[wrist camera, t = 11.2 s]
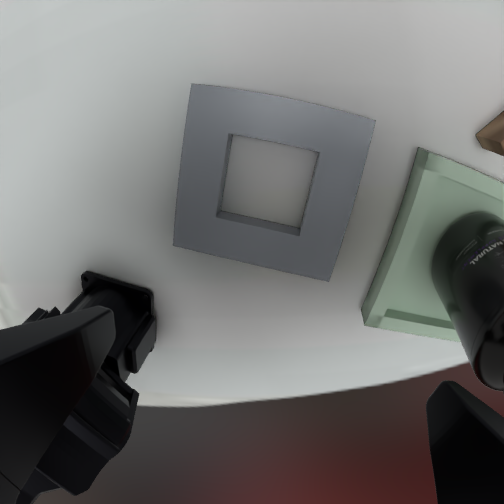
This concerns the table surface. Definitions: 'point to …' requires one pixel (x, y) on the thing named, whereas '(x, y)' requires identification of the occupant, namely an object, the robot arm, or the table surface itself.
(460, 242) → the supplement bottle
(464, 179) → the tray
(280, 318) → the table surface
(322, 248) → the hole plate
